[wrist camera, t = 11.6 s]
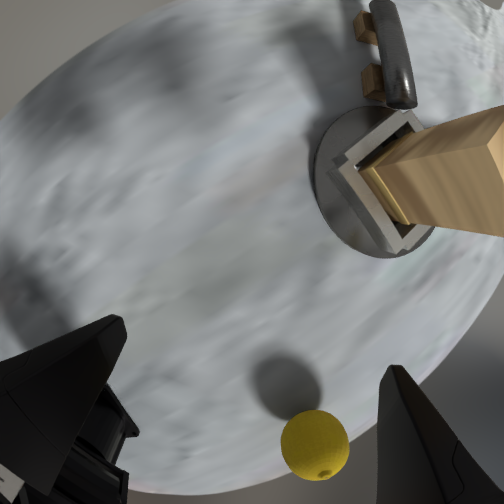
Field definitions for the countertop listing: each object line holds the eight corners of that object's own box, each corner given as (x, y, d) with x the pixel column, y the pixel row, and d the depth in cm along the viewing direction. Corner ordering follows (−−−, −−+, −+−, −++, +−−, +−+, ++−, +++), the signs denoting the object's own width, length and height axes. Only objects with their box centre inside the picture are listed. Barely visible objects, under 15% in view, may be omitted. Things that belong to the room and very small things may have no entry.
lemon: (263, 423, 23) (273, 489, 15) (302, 384, 22) (327, 449, 14) (306, 440, 24) (325, 499, 16) (344, 405, 23) (375, 462, 15)
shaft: (397, 118, 19) (428, 104, 15) (364, 111, 19) (391, 93, 15) (383, 27, 18) (404, 5, 13) (352, 19, 18) (371, -7, 13)
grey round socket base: (372, 287, 21) (392, 299, 18) (279, 163, 19) (288, 155, 16) (456, 198, 21) (480, 199, 18) (384, 85, 19) (404, 71, 16)
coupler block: (387, 222, 20) (521, 244, 7) (352, 172, 19) (484, 143, 7) (421, 187, 20) (549, 184, 7) (391, 139, 19) (516, 98, 6)
